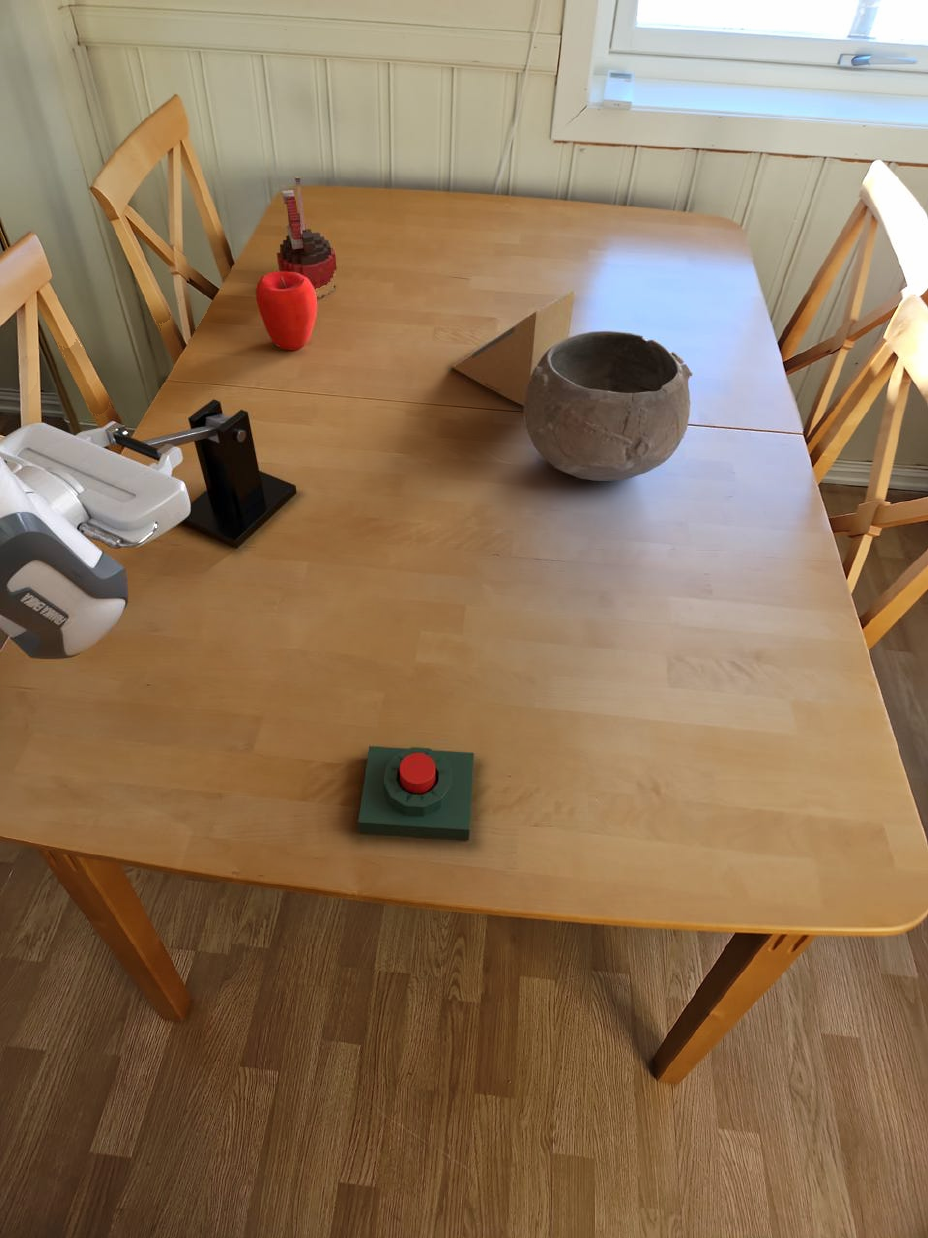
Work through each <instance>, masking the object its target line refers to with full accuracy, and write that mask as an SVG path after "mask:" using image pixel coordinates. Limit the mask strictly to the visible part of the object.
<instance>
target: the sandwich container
mask: <svg viewBox="0 0 928 1238" xmlns="http://www.w3.org/2000/svg"><path fill="white" fill-rule="evenodd" d="M575 296H576V294H575V291H574V290H572V291H570V292H568V293H565V294H563V295H560V296H559V297H557V298H554V299H552V300H551V301H549V302H548V303H545V304H544V305H542V306H540V307H539V308H538V309H536V310H534V311H532V312H531V313H530V314H529V315H527V316H526V317H524V318H523V319H522V320H520V321H519V322H517V323H516V324H514V325H513V326H511V327H510V328H508V329H506V330H505V331H503V332H502V333H501V334H499V335H498V336H497V337H495V338H493V339H492V340H490V341H488V342H486V343H485V344H483V345H482V346H481V347H478V348H477V349H476V350H474V351H473V352H472V353H470V354H469V355H467V356H466V357H464V358H463V359H461V360H460V361H458V362H457V363H456V364H454V365H452V369H454V370H456V371H458V372H459V373H461V374H463V375H464V376H466V377H468V378H470V379H471V380H473V381H475V382H477V383H479V384H480V385H482V386H485V387H486V388H488V389H490V390H492V391H494V392H496V393H498V394H500V395H501V396H502V397H505V398H507V399H509V400H511V401H512V402H514V403H516V404H519V405H521V406H522V407H524V401H525V396H526V392H527V387H528V385H529V382H530V380H531V375H532V373H533V371H534V369H535V367H536V366H537V365H538V363H539V361H540V360H541V358H542V357H543V355H544V354H545V353H546V352H547V351H548V350H549V349H550V348H551V347H553V346H554V345H555V344H556V343H558V342H560V341H562V340H564V339H566V338H568V337H570V331H571V330H570V329H571V325H572V324H571V323H572V317H573V309H574V302H575Z"/></svg>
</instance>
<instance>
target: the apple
mask: <svg viewBox="0 0 928 1238" xmlns="http://www.w3.org/2000/svg"><path fill="white" fill-rule="evenodd" d="M255 302H256V304H257V308H258V311H259V314H260V318H261V320H262V322H263V325H264V328H265V330H266V332H267V334H268V337H270V339H271V341H272V342H273V344H275V345H276V344H277V345H276V347H277V348H279V349H282V350H286V351H299V350H300V349H302V348H304V347H305V346H306V345H307V344H308V343H309V341H310V340H311V339H310V338H311V336H312V333H313V330H314V326H315V322H316V317H317V312H318V297H317V296H316V292H315V289H314V287H313V285H312V284H311V282H310V281H309V279H308V278H306V277H304V276H302V275H300V274H298V273H295V272H288V271H279V270H278V271H277V270H276V271H271V272H269V273H267V274H265V275H263V276H262V277H261V278H260V279H259V280H258V282H257V284H256V287H255ZM306 342H307V343H306ZM278 345H279V346H278Z"/></svg>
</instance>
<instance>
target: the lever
mask: <svg viewBox="0 0 928 1238" xmlns="http://www.w3.org/2000/svg"><path fill="white" fill-rule="evenodd" d="M231 417H232V416H231V415H227V414H225V413H223V414H218V415H214V416H209V417H206V425H205V426H203V427H198V428H194V429H191V428H190V429H187V430H182V431H177V432H174V433H169V434H166V435H162V436H157V437H153V438H148V439H145V440H139V439H136V438H135V437H131V436H129V435H128V436H127V435H125V434H122V433H120V434H118V435H117V436H116V443H117V444H119V445H118V446H122V447H124V448H125V449H128V450H130V451H133V452H135V453H138V454H140V455H142V456H145V457H147V458H150V459H152V460H155V461H157V462H159V461H160V458H159V456H158V453H157V450H159V449H160V448H161V447H164V445H165V444H170V445H173V446H175V447H178V446H182V445H185V444H189V443H193V442H194V441H198V440H202V439H206V438H208V439H210V440H213V441H215V442H218V443H219V440H218V436H217V431H216V429H217V428H218V427H219V426H221V425H222V424H223V423H225V422H226V421H227V420H228V419H230V418H231Z"/></svg>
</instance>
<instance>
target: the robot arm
mask: <svg viewBox="0 0 928 1238" xmlns="http://www.w3.org/2000/svg"><path fill="white" fill-rule="evenodd" d="M120 433H122V434H125V435H127V436H129V434H128V432H127V427H126V426H125V425H123V424H121V423H118V422H116V421H113V420H112V421H110V422H109V423H106V425H103V427H97V428H92V429H89V430H83V431H80V432H79V433H77V434H75V435H74V434H72V433H69V432H67V431H64V430H62V429H60V428H57V427H55V426H52V425H50V424H47V423H46V422H42V421H41V422H40V421H39V422H34V423H33V422H32V423H28V424H25V425H22V426H21V427H19V428H17V429H16V430H14V431H12V432H10V433H9V434H8V435H6V436H4V437H2V438H1V439H0V630H1V631H3V632H4V633H5V634H6V635H8V636H9V639H10V640H11V641H12V642H13V643H14V644H15V645H16V646H18V648H20V650H22V652H24V653H25V654H26V655H27V656H28V657H29V658H30V659H38V660H62V659H63V660H64V659H70V658H71V659H72V658H73V657H76V656H78V655H80V654H82V653H83V652H85V651H87V650H89V649H90V648H91V647H93V646H94V645H96V644H97V643H98V642H100V641H101V640H103V638H104V637H105V636H107V635H108V634H109V632H110V631H111V630H112V629H113V628H114V627H115V625H116V624H117V623H118V621H119V620H120V619H121V616H122V615H123V614H124V612H125V610H126V608H127V606H128V603H129V582H128V575H127V571H126V567H124V565H122V564H121V563H120V562H118V561H117V560H116V559H115V558H113V557H112V556H111V555H110V554H108V552H106V551H104V550H101V549H100V548H99V547H98V546H96V545H95V543H93V542H92V541H93V540H94V541H96V542H100V543H103V544H104V545H105V546H107V547H108V548H110V549H114V550H120V549H122V548H123V549H130V548H134V549H137V548H140V547H142V546H143V545H145V544H148V543H150V542H152V541H154V540H156V539H157V538H159V537H161V536H162V535H163V534H165V533H167V532H168V531H170V530H171V529H173V528H175V527H176V526H178V525H179V524H180V522H181V521H183V520H184V519H185V518H187V517H188V515H189V514H190V509H191V499H190V496H189V492H188V488H187V485H186V484H185V482H184V481H183V480H181V479H179V478H176V477H174V476H172V474H173V469H175V468H176V467H177V466H178V465H181V463H182V461H183V459H184V457H183V452H182V449H181V448H180V447H178V446H173V445H170V444H165V445H164V447H161V448H160V449H159V450H157V453H158V456H159V458H160V461H158V463H156V462H151V463H150V464H149V465H145V464H143V463H141V462H139V461H135V460H133V459H131V458H128V457H126V456H124V455H121V454H119V453H117V452H114V451H111V450H109V449H107V448H105V447H109V446H110V445H111V446H114V447H118V446H120V445H119V444H117V443H116V436H117V435H118V434H120Z"/></svg>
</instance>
